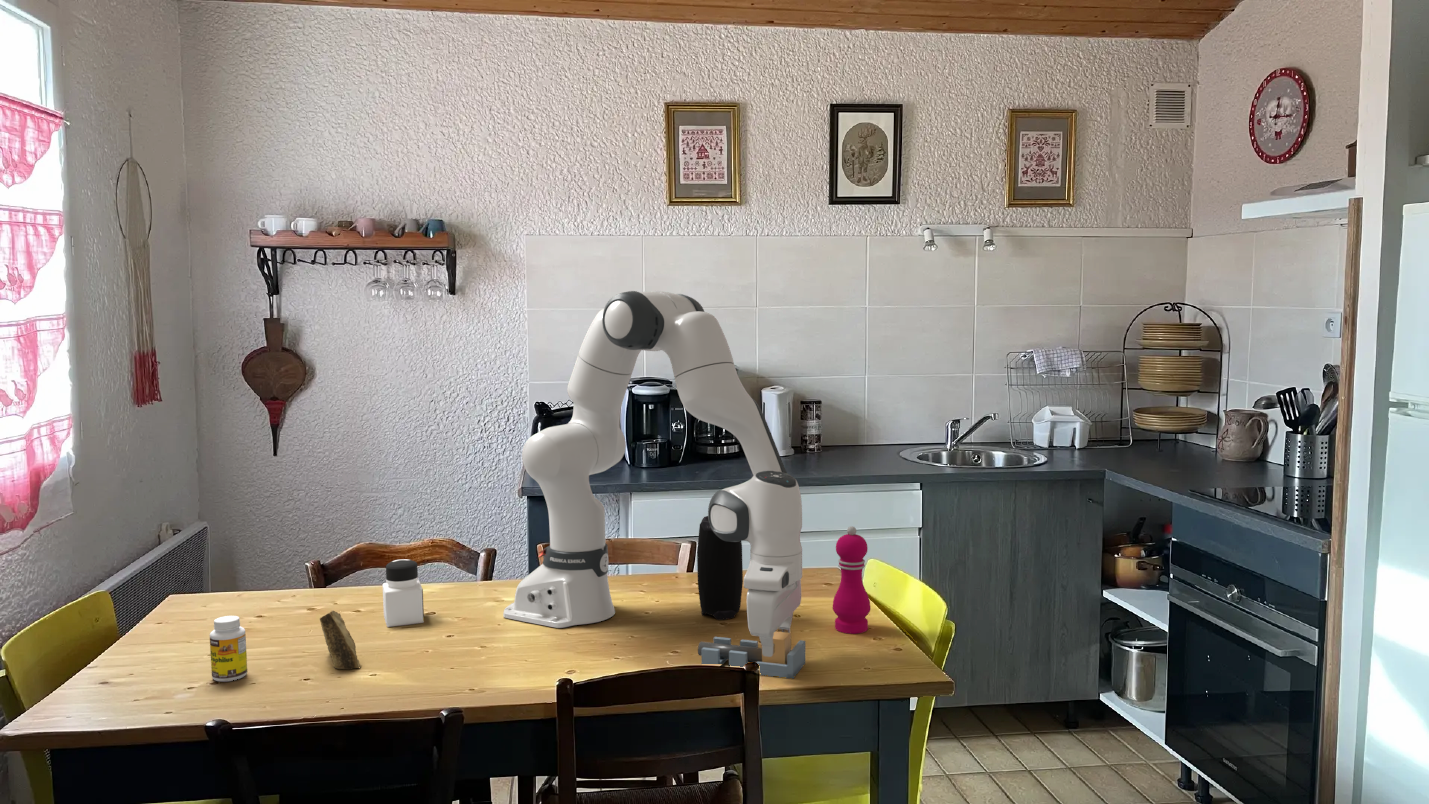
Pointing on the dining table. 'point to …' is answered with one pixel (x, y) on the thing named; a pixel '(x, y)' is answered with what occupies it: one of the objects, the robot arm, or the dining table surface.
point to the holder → (793, 663)
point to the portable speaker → (718, 573)
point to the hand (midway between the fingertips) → (776, 646)
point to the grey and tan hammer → (756, 649)
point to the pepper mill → (851, 585)
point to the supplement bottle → (228, 649)
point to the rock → (339, 641)
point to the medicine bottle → (402, 594)
